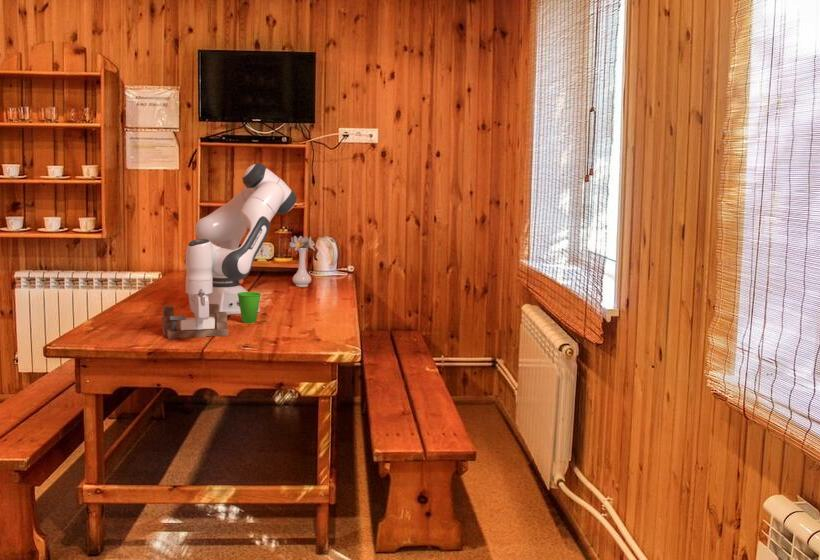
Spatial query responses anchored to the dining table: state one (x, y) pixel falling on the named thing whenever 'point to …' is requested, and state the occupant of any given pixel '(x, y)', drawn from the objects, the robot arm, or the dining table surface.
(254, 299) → the cup
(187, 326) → the hinged leg
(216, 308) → the stool board
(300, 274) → the flower vase
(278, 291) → the dining table surface
